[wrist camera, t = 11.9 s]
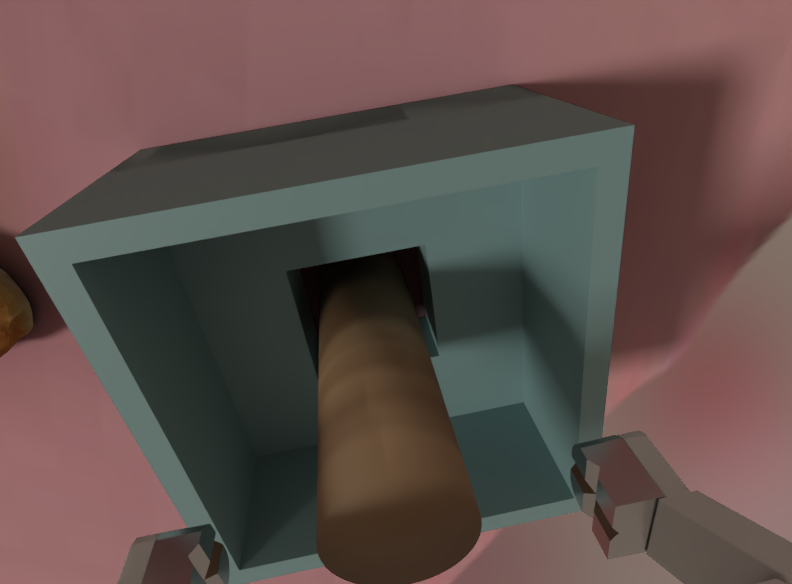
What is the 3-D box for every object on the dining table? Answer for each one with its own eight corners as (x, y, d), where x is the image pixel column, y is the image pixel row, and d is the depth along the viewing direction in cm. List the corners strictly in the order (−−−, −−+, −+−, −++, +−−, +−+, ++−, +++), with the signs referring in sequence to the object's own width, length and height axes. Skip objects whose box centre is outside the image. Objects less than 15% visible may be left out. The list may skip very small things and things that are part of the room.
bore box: (140, 149, 17) (15, 237, 10) (512, 84, 18) (634, 124, 11) (252, 423, 24) (223, 587, 17) (517, 370, 24) (594, 507, 17)
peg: (311, 250, 20) (297, 503, 9) (396, 234, 20) (476, 465, 10) (329, 322, 22) (336, 599, 11) (408, 307, 22) (485, 567, 11)
